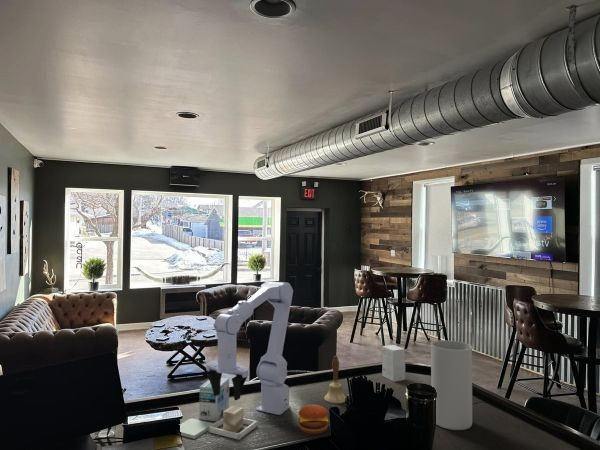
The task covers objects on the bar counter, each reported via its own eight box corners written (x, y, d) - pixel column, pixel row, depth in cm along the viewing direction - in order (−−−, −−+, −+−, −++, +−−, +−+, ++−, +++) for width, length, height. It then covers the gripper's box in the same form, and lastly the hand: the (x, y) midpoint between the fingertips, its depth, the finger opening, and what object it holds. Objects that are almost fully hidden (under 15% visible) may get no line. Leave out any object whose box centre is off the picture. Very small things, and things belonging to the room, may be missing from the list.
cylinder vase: (473, 434, 129) (472, 351, 130) (430, 427, 134) (430, 347, 134) (471, 417, 141) (471, 342, 142) (432, 412, 146) (432, 339, 146)
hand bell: (351, 400, 156) (351, 356, 156) (333, 405, 151) (333, 360, 152) (336, 393, 163) (337, 351, 163) (319, 398, 158) (319, 354, 159)
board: (213, 426, 134) (213, 423, 134) (194, 438, 126) (194, 435, 126) (190, 421, 138) (190, 418, 138) (171, 432, 129) (171, 429, 129)
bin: (257, 425, 134) (257, 421, 134) (239, 439, 125) (239, 434, 125) (227, 419, 139) (227, 414, 139) (208, 432, 130) (208, 427, 130)
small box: (405, 380, 178) (405, 348, 179) (393, 382, 176) (393, 350, 176) (393, 374, 186) (393, 344, 186) (381, 376, 183) (381, 345, 183)
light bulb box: (217, 422, 137) (218, 388, 138) (198, 420, 139) (198, 386, 139) (229, 408, 148) (229, 377, 148) (211, 407, 149) (211, 376, 149)
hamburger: (330, 433, 130) (330, 411, 130) (299, 435, 129) (299, 413, 129) (326, 420, 139) (326, 400, 139) (296, 421, 138) (296, 401, 138)
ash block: (243, 427, 134) (243, 407, 134) (233, 433, 129) (234, 413, 129) (232, 424, 135) (232, 405, 136) (223, 431, 131) (223, 411, 131)
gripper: (200, 353, 131) (199, 397, 131) (239, 359, 125) (239, 405, 125) (214, 347, 138) (214, 389, 137) (252, 353, 131) (252, 397, 131)
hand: (226, 397), depth 131 cm, fingers open, 7 cm apart
